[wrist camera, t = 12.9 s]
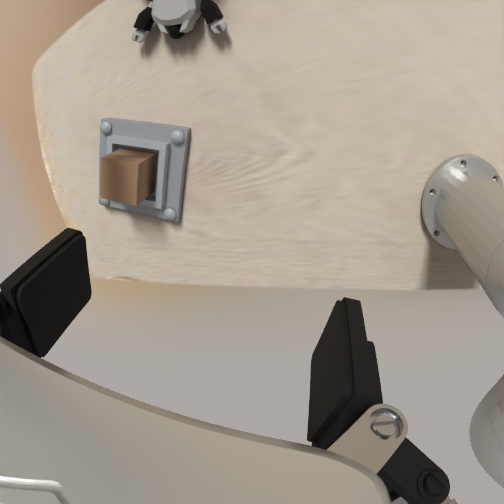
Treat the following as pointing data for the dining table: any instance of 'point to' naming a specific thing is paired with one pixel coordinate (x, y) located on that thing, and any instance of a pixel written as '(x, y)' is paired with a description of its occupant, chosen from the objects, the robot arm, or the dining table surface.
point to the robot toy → (177, 17)
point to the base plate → (167, 167)
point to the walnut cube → (127, 175)
